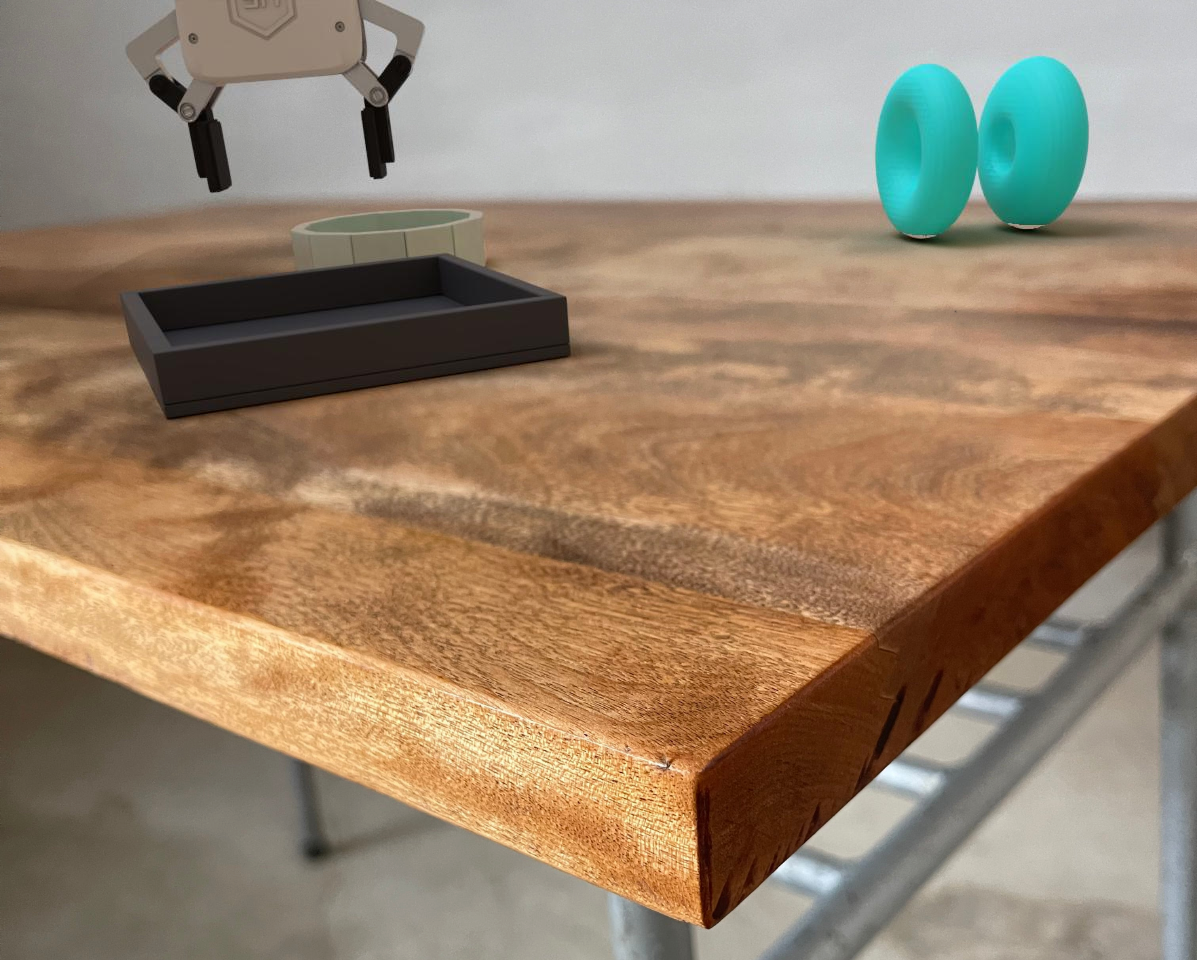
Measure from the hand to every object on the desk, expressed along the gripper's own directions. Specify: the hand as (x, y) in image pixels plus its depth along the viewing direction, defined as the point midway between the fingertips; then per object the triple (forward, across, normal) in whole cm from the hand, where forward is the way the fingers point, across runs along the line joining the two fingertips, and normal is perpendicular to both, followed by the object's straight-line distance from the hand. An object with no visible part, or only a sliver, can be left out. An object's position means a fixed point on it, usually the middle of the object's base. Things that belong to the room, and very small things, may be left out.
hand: (300, 183), depth 75 cm
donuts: (+6, +41, -1) cm, 42 cm away
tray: (+6, +5, -23) cm, 24 cm away
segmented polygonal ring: (+6, +5, 0) cm, 8 cm away
